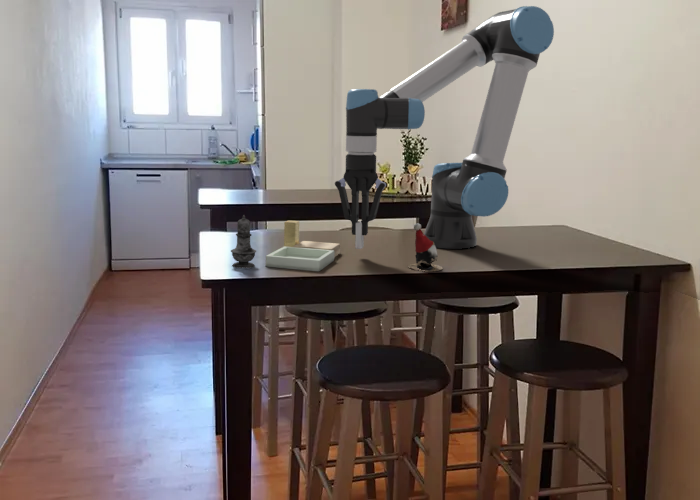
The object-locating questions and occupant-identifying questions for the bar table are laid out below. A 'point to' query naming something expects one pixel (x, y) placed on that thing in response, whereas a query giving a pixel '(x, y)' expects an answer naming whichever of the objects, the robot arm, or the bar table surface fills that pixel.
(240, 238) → the salt shaker
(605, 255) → the bar table surface
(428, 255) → the figurine
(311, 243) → the beige rectangular block
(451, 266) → the bar table surface
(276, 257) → the tray
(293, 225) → the block
